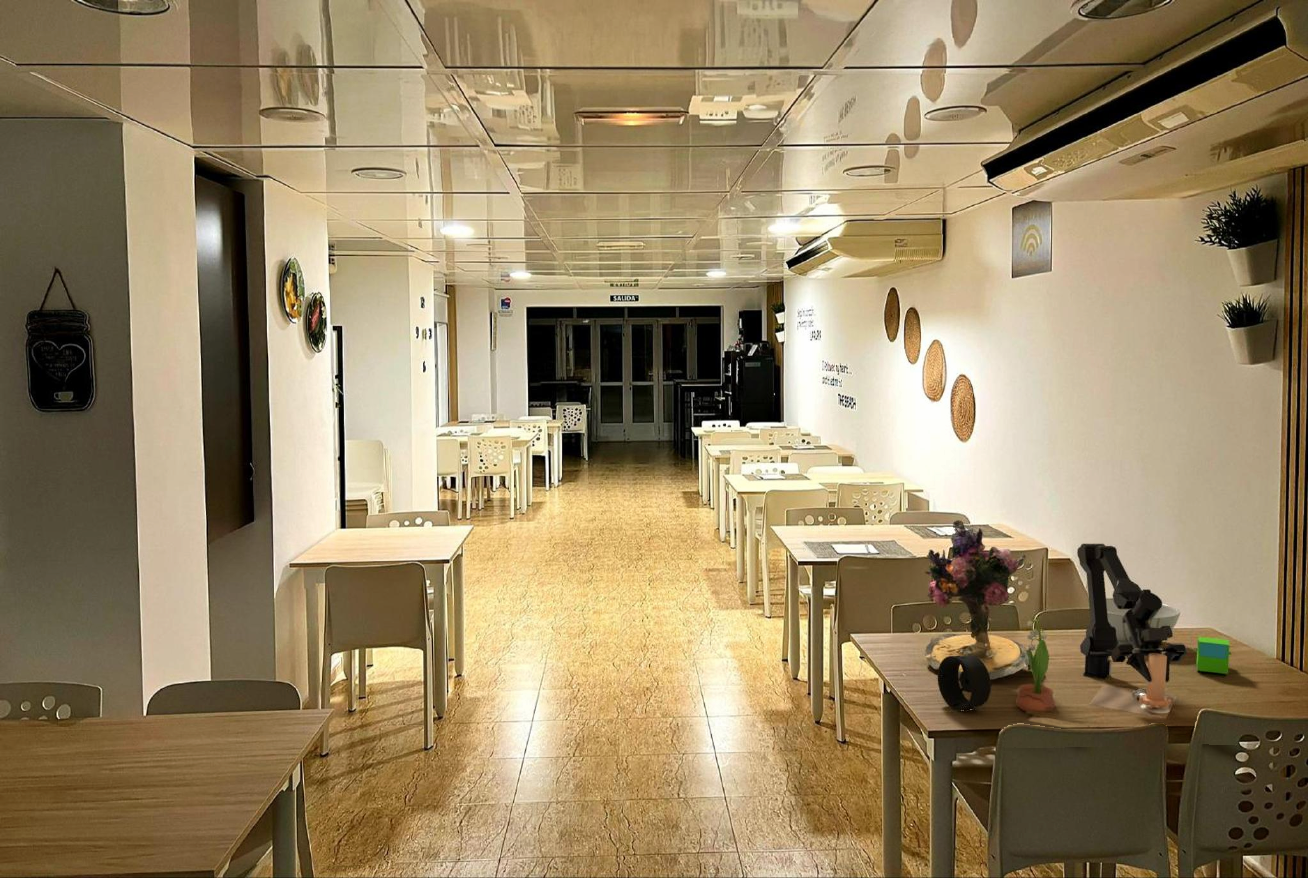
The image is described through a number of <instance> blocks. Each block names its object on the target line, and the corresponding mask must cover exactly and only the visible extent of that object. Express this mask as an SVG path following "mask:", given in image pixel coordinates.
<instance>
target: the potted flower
mask: <svg viewBox="0 0 1308 878" xmlns="http://www.w3.org/2000/svg"><path fill="white" fill-rule="evenodd" d="M1038 620H1039V621H1038ZM1035 622H1036V624H1035V628H1034V623H1035ZM1040 624H1041V618H1040V617H1037V619H1036V618H1035V619H1032V620H1028V621H1027V625H1026V626H1028V627H1031V631H1030V632H1029V633H1028V635H1027V638H1026V639H1027V640H1031V643H1030V645H1028V649H1027V650H1028V660H1029V665H1030V668H1031V670H1030V671H1031V673H1032V676H1033V679H1034V684H1032V683H1030V684H1023V685H1022V684H1021V685H1020V686H1019V687H1018V693H1017V696H1016V699H1015V703H1016V705H1017V707H1018V709H1020V710H1022V711H1023V712H1028V711H1029V710H1030V711H1037V712H1047V711H1048V712H1049V711H1052V710H1054V709H1055V708H1056V701H1055V699H1054V697H1053V695H1054V690H1053V689H1052V688H1050V687H1048V686H1044V685H1042V682H1043V680H1044V677H1045V676H1046V674H1047V672H1048V669H1049V659H1050V655H1049V649H1048V648H1047V644H1046V641H1045V640H1047V634H1046V633H1044V631H1045V630H1044V629H1045V628H1041V627H1040ZM1037 637H1038V638H1037ZM1034 640H1036V641H1038V644H1037V647H1036V646H1035V645H1034V644H1032V643H1033V641H1034ZM1034 651H1035V653H1034V655H1033V652H1034Z"/></svg>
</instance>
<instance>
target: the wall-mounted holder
mask: <svg viewBox="0 0 1308 878" xmlns="http://www.w3.org/2000/svg"><path fill="white" fill-rule="evenodd" d="M960 664H961V667H962V669H963V671H962V672H961V675H960V678H958V672H959V667H960ZM991 682H992V681H991V680H990V676H989V673H988V670H987V668H986V666H985V665H984V663H983V662H982V661H981V660H980V659H979V658H977V657H976V656H973V655H965V656H948V657H946V658H945V659H943V660H942V662H941V664H940V666H939V669H937V685H938V690H939V692H940V695H941V697H942V699H943V700H944V702H945V703H946V704H947V705H948V707H950V708H951V709H952V708H953V709H952V710H954V709H956V710H955V711H957V710H958V711H957V712H962V711H961V710H964V711H963V712H967V711H966V710H970V709H973V710H975V708H977V707H982V706H983V705H985V704H986V703H987V702H988V700H989V698H990V696H991V692H992V683H991ZM964 692H965V693H968V694H970V696H969V699H968V698H967V697H966V695H965V694H964ZM970 711H971V710H970Z"/></svg>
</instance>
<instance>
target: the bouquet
mask: <svg viewBox="0 0 1308 878" xmlns="http://www.w3.org/2000/svg"><path fill="white" fill-rule="evenodd" d="M952 527H953V529H954V530H953V531H954V532H955V533H952V537H951V538H950V541H951V544H952V547H951V553H952V558H946V550H944V549H943V550H942V555H940V552H939V551H937V552H936V553H935V551H934V550H933V549H929V550H928V554H927V555H926V558H927V559H928V561H929V562H931V563H932V564H934V566H931V565H929V567H928V568H929V570H928V571H926V570H925V571H924V574H927V575H928V576H930V577H931V578H932V579H933V580H934V581H931V582H928V583H927V584H928V585H927V586H928V592H927V597H928V598H931V599H932V600H933V601H934V602H935V603H936V604H937V606H938V607H941V608H944V607H947V606H948V605H951V604H952V603H953V601H952V600H951V599H952V598H956V599H957V600H958V601H960V602H961V603H963V604H964V605H965V606H966V608H967V609H968V613H969V615H970V616H969V617H970V624H969V625H970V630H971V631H970V632H971V633H970V634H965V635H963V634H958V633H946V634H945V633H944V634H939V635H937V636H935V637H932V638H931V639H930V640H929V641H930V642H929V643H928V644H927V645H926V646H925V650H924V651H925V652H924V655H925V659H926V661H927V664H928V665H929V666H931V667H932V668H933V669H934V670H938V669H939V666H940V664H941V662H942V660H943V659H945V658H946V657H948V656H965V655H973V656H976V657H977V658H979V659H980V660H981V661H982V662H983V663H984V665H985V666H986V668H987V670H988V673H989V676H990V681H991V680H996V679H998V678H1004V677H1005V676H1009V675H1013V674H1015V673H1017V672H1019V671H1020V670H1022V669H1023V668H1026V667H1027V671H1028V672H1030V671H1031V668H1030V665H1029V660H1028V649H1027V648H1026V646H1025V645H1024V644H1021V643H1020V642H1017V641H1015V640H1013V639H1010V638H1005V637H1002V636H999V635H998V636H997V635H991V634H989V633H988V630H989V629H988V628H989V618H990V617H989V616H990V609H989V606H991V607H999V606H1002V605H1004V604H1005V603H1007V602H1008V600H1009V598H1010V595H1009V593H1008V587H1009V577H1010V576H1012V575H1013V574H1015V573H1016V572H1017V571H1018V569H1019V567H1022V565H1024V563H1025V561H1026V558H1027V557H1026V555H1025V554H1022V556H1021V557H1020V558H1019V559H1018V558H1013V559H1012V558H1011V557H1012V556H1011V555H1012V554H1013V551H1011V549H1009V548H1007V549H1006V548H1005V547H1003V548H999V549H998V548H997V547H996V546H991V548H990V549H989V551H988V552H986V551H984V550H985V549H986V545H984V544H983V535H984V533H983V532H984V531H983V530H982V528H978V531H977V532H975V531H974V528H973V527H971V528H968V529H966V526H965V524H964V521H962V520H959V519H956V520H954V521H953V523H952ZM940 556H941V557H940ZM962 671H963V669H962V667H961V664H960V667H959V672H958V678H959V679H960V675H961V672H962Z"/></svg>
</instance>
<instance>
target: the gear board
mask: <svg viewBox="0 0 1308 878" xmlns="http://www.w3.org/2000/svg"><path fill="white" fill-rule="evenodd" d="M1137 690H1138V689H1132V688H1128V687H1127V688H1126V687H1122V686H1121V687H1120V686H1115V685H1110V684H1103V685H1102V686H1101V687H1100V689H1099V690H1098V692H1097V693H1096V694H1095V695H1094V697H1093V699H1091V701H1090V703H1088V705H1089V706H1093V707H1099V708H1103V709H1104V708H1105V709H1110V710H1116V711H1121V712H1125V713H1132V714H1138V715H1143V716H1149V717H1154V718H1161V719H1167V717H1168V716H1169V714H1170V712H1171V709H1172V708H1173V706H1174V704H1175V702H1176V700H1177V698H1178V696H1174V695H1170V694H1165V696H1168V699H1169V700H1171V705H1169V707H1167V708H1166V707H1159V708H1157V707H1154V706H1149V705H1144V703H1143V702H1140V701H1139V700H1136V699H1135V696H1132V692H1133V691H1137Z"/></svg>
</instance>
